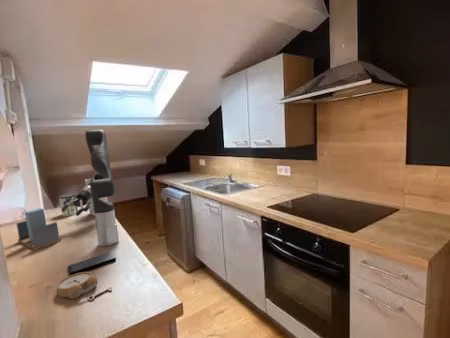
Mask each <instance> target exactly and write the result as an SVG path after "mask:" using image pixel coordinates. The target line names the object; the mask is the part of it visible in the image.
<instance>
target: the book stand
mask: <svg viewBox="0 0 450 338" xmlns="http://www.w3.org/2000/svg"><path fill="white" fill-rule="evenodd" d="M61 240H62V239H61V238H60V237H59V239H57V240H54V241H51V242H48V243H46V244H43V245H40V246H37V247H34V242H32V241H30V238H29V237H27V238H24V239H21V240H20V239H19V238H18V239H17V241H18V243H19V244H21V245H24V246H25V247H28V248H29V249H31V250H34V251H38V250H39V249H42V248H45V247H47V246H51V245H53V244H56V243H59V242H61Z"/></svg>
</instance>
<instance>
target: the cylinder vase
mask: <svg viewBox="0 0 450 338" xmlns="http://www.w3.org/2000/svg"><path fill="white" fill-rule="evenodd" d="M91 179H92V177H91V178H86V179H84V183H85V187H86V186H87V185H88V184H89V182H90V181H91ZM99 199H100V200H102V201H104V202H109V200H108V197H103V198H99ZM89 202H91V206H90V208H89V209H88V212H89V215H91V216H95V215H94V207H93V200H92V198H91V199H90V200H89Z"/></svg>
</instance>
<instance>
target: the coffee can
mask: <svg viewBox="0 0 450 338" xmlns="http://www.w3.org/2000/svg"><path fill="white" fill-rule="evenodd" d="M70 196H71V197H72V198H75V197H76V196H77V193H66V194H62V195H58V198H59V205H60V212H61V217H69V216H75V215H76V213H77V211H78V210H79V209H78V208H79V207H77V206H70V207H68V208H67V209H66V210H65V211H64V212H62V208H63V207H64V203H63V202H64V201H65V200H66V199H67V198H68V197H70ZM72 204H73V203H72ZM69 205H70V204H69Z"/></svg>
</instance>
